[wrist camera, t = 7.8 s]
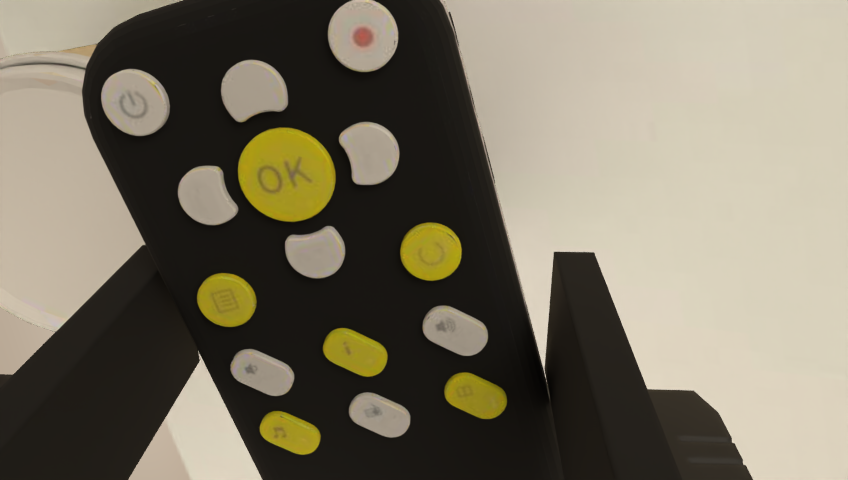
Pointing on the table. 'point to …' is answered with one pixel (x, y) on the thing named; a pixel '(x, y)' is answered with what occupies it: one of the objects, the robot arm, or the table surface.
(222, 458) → the table surface
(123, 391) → the robot arm
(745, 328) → the table surface
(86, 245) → the coffee cup
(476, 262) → the remote control
